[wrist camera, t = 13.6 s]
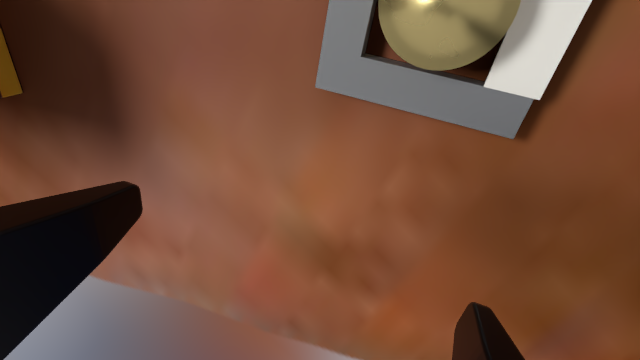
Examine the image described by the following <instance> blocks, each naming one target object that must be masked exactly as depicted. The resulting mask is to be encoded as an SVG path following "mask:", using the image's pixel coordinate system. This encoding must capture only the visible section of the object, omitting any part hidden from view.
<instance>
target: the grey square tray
mask: <svg viewBox="0 0 640 360" xmlns="http://www.w3.org/2000/svg"><path fill="white" fill-rule="evenodd" d="M591 2H592V0H521V2H520V6H519V9H518V11H517V14H516V16H515V18H514V20H513V22H512V24H511V26H510V28H509V29H508V31H507V32H506V34H505V36H504V38H503V40H502V43H501V45H500V47H499V50H498V52H497V54H496V57H495V59H494V62H493V64H492V66H491V69H490V71H489V73H488V76H487V78H486V80H485V82H484V81H480V80H476V79H472V78H467V77H463V76H459V75H455V74H451V73H446V72H442V71H438V70H427V69H423V68H419V67H416V66H414V65H412V64H409V63H404V62H400V61H396V60H392V59H388V58H383V57H379V56H375V55H371V54H367V53H365V52H366V47H367V43H368V39H369V34H370V30H371V26H372V21H373V17H374V13H375V8H376V4H377V0H329V6H328V12H327V18H326V24H325V30H324V36H323V42H322V48H321V55H320V61H319V67H318V73H317V79H316V85H315V87H316V88H320V89H324V90H328V91H332V92H335V93H339V94H343V95H347V96H351V97H355V98H358V99H362V100H366V101H370V102H374V103H377V104H381V105H385V106H389V107H393V108H396V109H400V110H404V111H408V112H412V113H415V114H419V115H423V116H427V117H431V118H434V119H438V120H442V121H446V122H450V123H453V124H457V125H461V126H465V127H469V128H473V129H476V130H480V131H484V132H488V133H492V134H495V135H499V136H503V137H507V138H511V139H514V137H515V135H516V133H517V131H518V129H519V127H520V125H521V123H522V121H523V119H524V117H525V115H526V114H527V112H528V110H529V108H530V106H531V104H532V102H533V100H534V99H536V100H540V98H541V97H542V95H543V93H544V91H545V89H546V87H547V85H548V83H549V81H550V79H551V78H552V76H553V74H554V72H555V70H556V68H557V66H558V64H559V62H560V60H561V59H562V57H563V55H564V53H565V51H566V49H567V47H568V45H569V43H570V41H571V40H572V38H573V36H574V34H575V32H576V30H577V28H578V26H579V24H580V22H581V21H582V19H583V17H584V15H585V13H586V11H587V9H588V7H589V5H590V3H591Z"/></svg>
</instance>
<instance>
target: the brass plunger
mask: <svg viewBox="0 0 640 360" xmlns="http://www.w3.org/2000/svg"><path fill="white" fill-rule="evenodd" d="M520 2H521V0H379V1H378V12H379V20H380V25H381V28H382V31H383V34H384V36H385V38H386V40H387V42H388V43H389V45H390V47H391V48H392V49H393V50H394V51H395V53H396V54H397V55H399V56H400V57H401V58H402V59H403V60H405V61H407V62H408V63H410V64H412V65H414V66H416V67H419V68H423V69H427V70H438V71H441V70H450V69H455V68H459V67H462V66H465V65H467V64H469V63H471V62H474V61H476V60H477V59H479V58H480V57H482V56H484V55H485V54H486V53H487V52H489V51H490V50H491V49H492V48H493V47H494V46H495V45H496V44H497V43H498V42H499V41H500V40H501V39H502V37H503V36H504V35H505V34H506V32H507V31H508V29H509V28H510V26H511V24H512V22H513V20H514V18H515V16H516V14H517V11H518V9H519V6H520Z"/></svg>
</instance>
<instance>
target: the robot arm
mask: <svg viewBox="0 0 640 360" xmlns="http://www.w3.org/2000/svg"><path fill="white" fill-rule="evenodd" d="M142 210H143V208H142V200H141V193H140V188H139V187H138V186H137V185H135V184H132V183H129V182H126V181H121V182H116V183H111V184H107V185H102V186H97V187H92V188H87V189H83V190H78V191H73V192H68V193H64V194H59V195H54V196H49V197H45V198H40V199H35V200H30V201H26V202H21V203H16V204H11V205H6V206H2V207H0V360H3V359H4V358H5V357H6V356H7V355H8V354H9V353H11V352H12V350H13V349H15V348H16V347H17V345H19V344H20V343H21V342H22V341H23V340H24V339H25V338H26V337H27V336H28V335H29V334H30V333H31V332H32V331H33V330H34V329H35V328H36V327H37V326H38V325H39V324H40V323H41V322H42V321H43V320H44V319H45V318H46V317H47V316H48V315H49V314H50V313H51V312H52V311H53V310H54V309H55V308H56V307H57V306H58V305H59V304H60V303H61V302H62V301H63V300H64V299H65V298H66V297H67V296H68V295H69V294H70V293H71V292H72V291H73V290H74V289H75V288H76V287H77V286H78V285H79V284H80V283H81V282H82V281H83V280H84V279H85V278H86V277H87V276H88V275H89V274H90V273H91V272H92V271H93V270H94V269H95V268H96V267H97V266H98V265H99V264H100V263H101V262H102V261H103V260H104V259H105V258H106V257H107V256H108V255H109V253H110V252H111V251H112V250H113V249H114V248H115V246H116V245H117V244H118V243H119V242H120V240H121V239H122V238H123V237H124V236H125V234H126V233H127V232H128V231H129V230H130V228H131V227H132V226H133V225H134V224H135V222H136V221H137V220H138V219H139V218H140V216H141V214H142ZM452 360H525V359H524V357H523V356H522V354H521V353H520V351H519V350H518V348H517V347H516V345H515V344H514V342H513V341H512V339H511V338H510V337H509V335H508V334H507V332H506V331H505V329H504V328H503V326H502V325H501V323H500V322H499V320H498V319H497V317H496V316H495V314H494V313H493V311H492V310H491V309H490V308H489V307H487V306H484V305H481V304H478V303H475V302H471V303H470V304H469V305H468V306H467V308H466V309H465V311H464V313H463V314H462V316H461V317H460V319H459V321H458V322H457V325H456V328H455V333H454V344H453V355H452Z"/></svg>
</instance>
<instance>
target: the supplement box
mask: <svg viewBox="0 0 640 360" xmlns="http://www.w3.org/2000/svg"><path fill="white" fill-rule="evenodd" d="M21 93H23V92H22V89H21V86H20V83H19V80H18V77H17V74H16V71H15V68H14V66H13V63H12V60H11V57H10V54H9V51H8V48H7V45H6V42H5V39H4V36H3V33H2V30H1V27H0V98H4V97H9V96H13V95H17V94H21Z"/></svg>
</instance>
